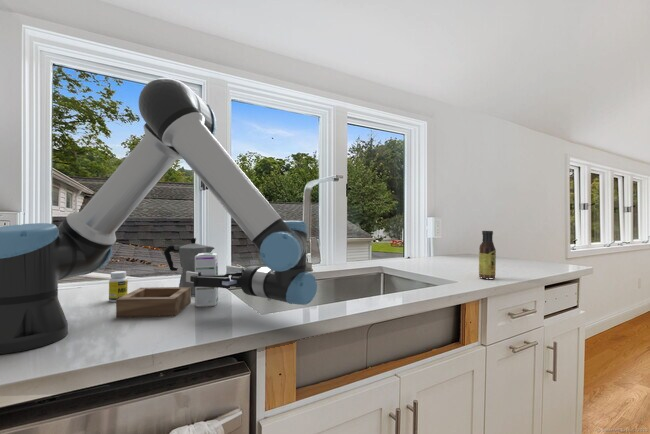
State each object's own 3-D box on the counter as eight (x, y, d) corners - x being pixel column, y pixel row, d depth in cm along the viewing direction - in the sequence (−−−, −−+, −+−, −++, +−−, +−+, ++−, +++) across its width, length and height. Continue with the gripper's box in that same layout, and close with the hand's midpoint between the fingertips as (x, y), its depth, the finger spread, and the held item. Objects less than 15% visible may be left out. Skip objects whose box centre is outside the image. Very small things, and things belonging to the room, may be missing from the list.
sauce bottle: (494, 280, 139) (495, 231, 139) (477, 279, 143) (478, 230, 143) (496, 278, 145) (496, 230, 145) (479, 276, 148) (480, 230, 148)
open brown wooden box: (174, 316, 87) (174, 298, 87) (116, 317, 86) (116, 299, 86) (190, 302, 101) (190, 287, 101) (140, 303, 100) (140, 287, 100)
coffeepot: (214, 288, 121) (214, 236, 121) (214, 294, 112) (214, 238, 112) (165, 291, 116) (166, 237, 116) (161, 297, 107) (162, 239, 107)
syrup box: (216, 306, 98) (216, 254, 98) (194, 307, 96) (194, 254, 96) (218, 301, 103) (218, 252, 103) (197, 301, 102) (197, 252, 102)
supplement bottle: (118, 302, 100) (118, 273, 100) (104, 301, 101) (104, 273, 101) (131, 298, 105) (131, 271, 105) (117, 298, 106) (117, 270, 106)
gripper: (220, 307, 78) (167, 294, 90) (292, 288, 98) (241, 279, 110) (221, 273, 78) (167, 265, 90) (293, 261, 98) (241, 256, 110)
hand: (208, 273), depth 100 cm, fingers open, 13 cm apart
